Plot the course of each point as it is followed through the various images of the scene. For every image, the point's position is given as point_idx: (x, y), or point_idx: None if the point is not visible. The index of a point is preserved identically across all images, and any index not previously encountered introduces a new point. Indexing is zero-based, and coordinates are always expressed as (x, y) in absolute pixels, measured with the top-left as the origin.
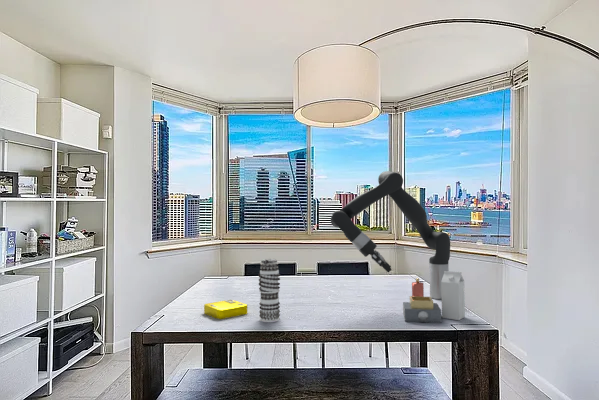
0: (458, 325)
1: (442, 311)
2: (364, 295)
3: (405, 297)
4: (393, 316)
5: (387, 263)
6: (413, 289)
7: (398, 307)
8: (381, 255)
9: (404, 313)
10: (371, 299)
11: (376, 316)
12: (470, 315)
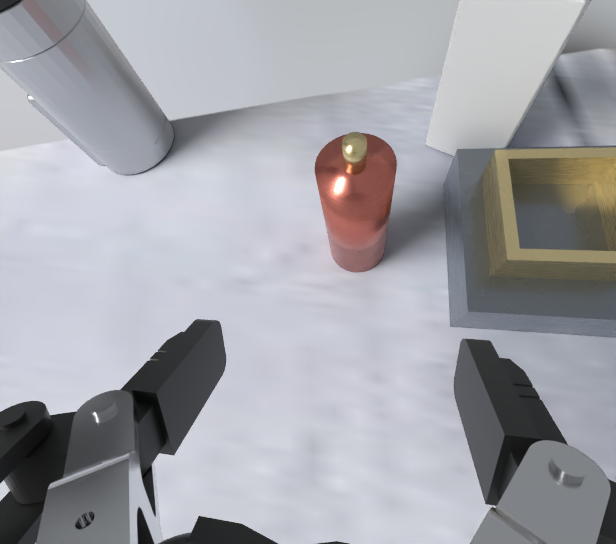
0: (601, 132)
1: None
2: None
3: (110, 274)
4: None
5: (185, 360)
6: (377, 215)
7: (314, 333)
8: (50, 513)
9: (602, 328)
10: None
11: None
12: (425, 82)
